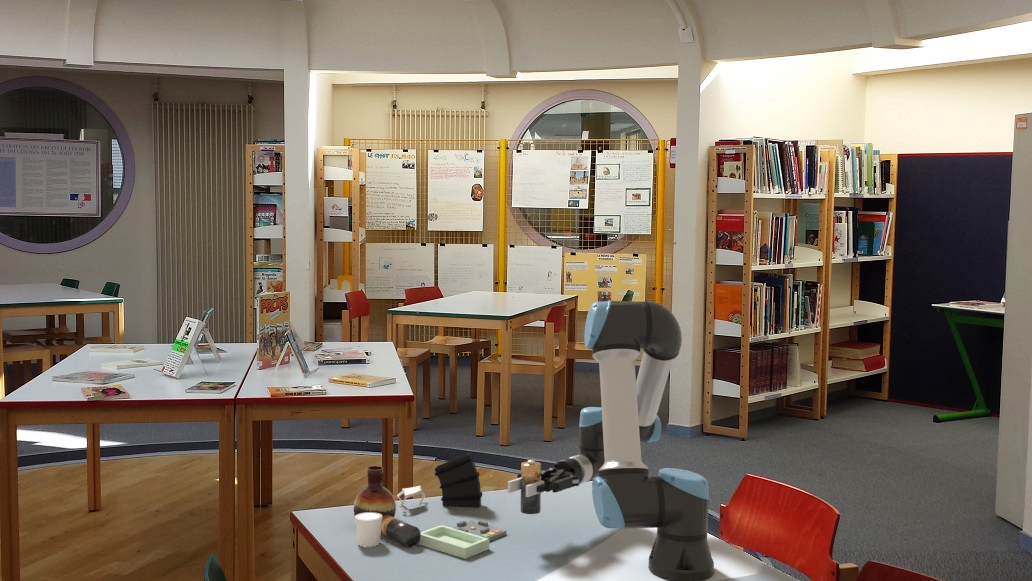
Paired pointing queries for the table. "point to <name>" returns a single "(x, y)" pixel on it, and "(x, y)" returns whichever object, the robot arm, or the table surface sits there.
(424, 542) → the trough
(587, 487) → the table surface
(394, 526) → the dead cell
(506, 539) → the table surface
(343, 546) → the table surface
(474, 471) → the magazine
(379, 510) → the vase
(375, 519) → the white cup
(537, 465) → the cell
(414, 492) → the white legged piece
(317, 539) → the table surface
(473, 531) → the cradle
